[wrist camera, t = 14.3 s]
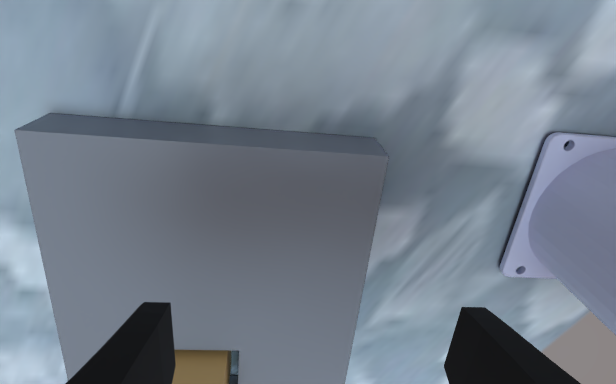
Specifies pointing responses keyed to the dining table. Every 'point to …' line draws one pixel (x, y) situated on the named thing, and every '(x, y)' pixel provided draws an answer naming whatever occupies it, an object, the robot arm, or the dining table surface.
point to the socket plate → (206, 237)
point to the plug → (202, 367)
